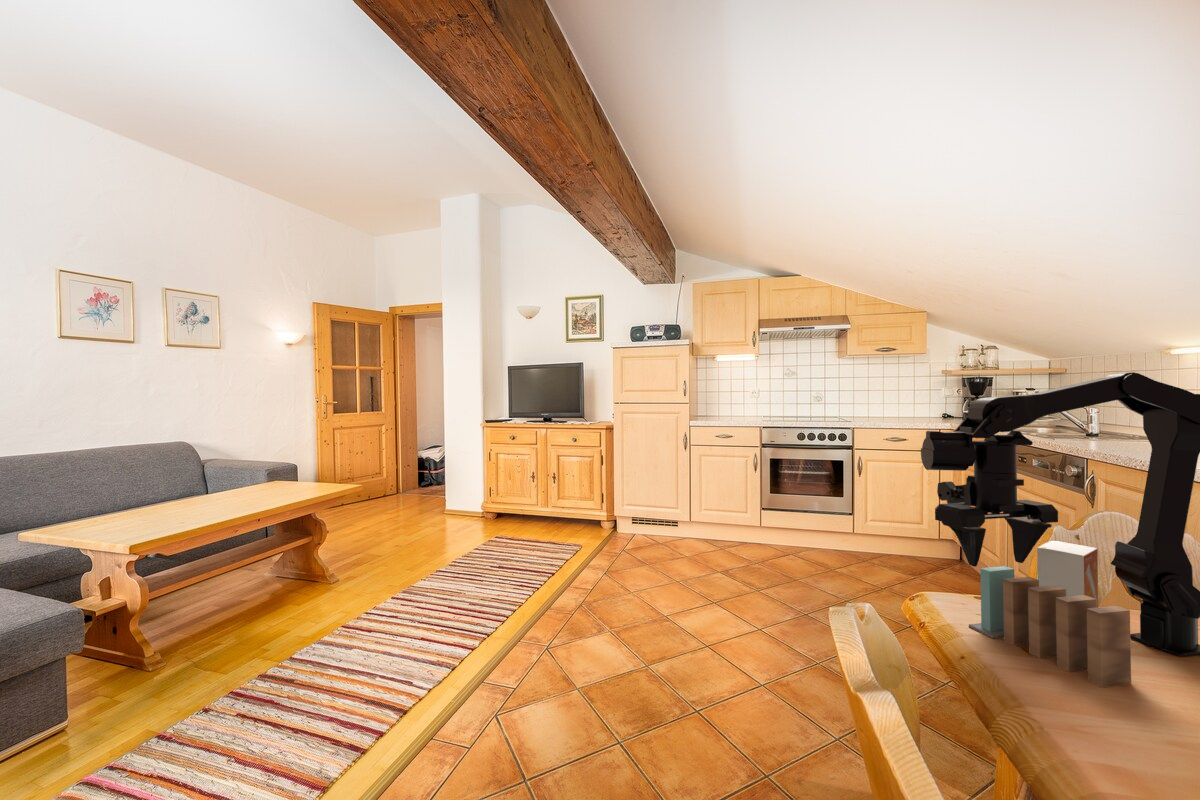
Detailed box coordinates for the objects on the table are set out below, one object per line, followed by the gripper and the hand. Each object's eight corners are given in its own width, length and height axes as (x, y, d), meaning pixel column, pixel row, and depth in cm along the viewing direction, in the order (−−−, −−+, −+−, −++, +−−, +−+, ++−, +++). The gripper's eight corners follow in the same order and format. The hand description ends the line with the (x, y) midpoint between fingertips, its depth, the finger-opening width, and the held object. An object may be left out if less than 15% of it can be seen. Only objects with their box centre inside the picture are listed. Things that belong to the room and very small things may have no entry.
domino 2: (1029, 638, 82) (1028, 576, 82) (1040, 642, 80) (1039, 580, 80) (1003, 640, 81) (1002, 578, 81) (1013, 645, 79) (1012, 582, 79)
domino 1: (1005, 624, 86) (1004, 566, 86) (1015, 628, 84) (1014, 569, 84) (981, 627, 85) (980, 568, 85) (990, 631, 83) (989, 571, 83)
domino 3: (1056, 649, 78) (1055, 585, 78) (1067, 654, 76) (1066, 589, 76) (1029, 652, 77) (1028, 587, 77) (1039, 658, 75) (1038, 591, 76)
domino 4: (1085, 662, 74) (1083, 594, 74) (1097, 668, 72) (1096, 599, 72) (1056, 666, 73) (1055, 597, 73) (1068, 672, 72) (1067, 601, 72)
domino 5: (1117, 677, 70) (1116, 605, 70) (1131, 683, 68) (1129, 610, 69) (1087, 681, 69) (1086, 608, 69) (1101, 687, 68) (1100, 613, 68)
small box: (1085, 634, 83) (1084, 555, 83) (1036, 621, 88) (1035, 546, 88) (1100, 622, 87) (1098, 547, 87) (1052, 610, 93) (1051, 539, 93)
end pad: (1003, 623, 87) (1003, 620, 87) (1028, 634, 83) (1028, 632, 83) (968, 626, 86) (968, 624, 86) (992, 638, 82) (992, 635, 82)
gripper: (996, 464, 94) (997, 547, 94) (909, 467, 91) (910, 553, 91) (1060, 472, 83) (1061, 566, 83) (963, 475, 80) (964, 573, 80)
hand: (996, 564), depth 85 cm, fingers open, 9 cm apart
